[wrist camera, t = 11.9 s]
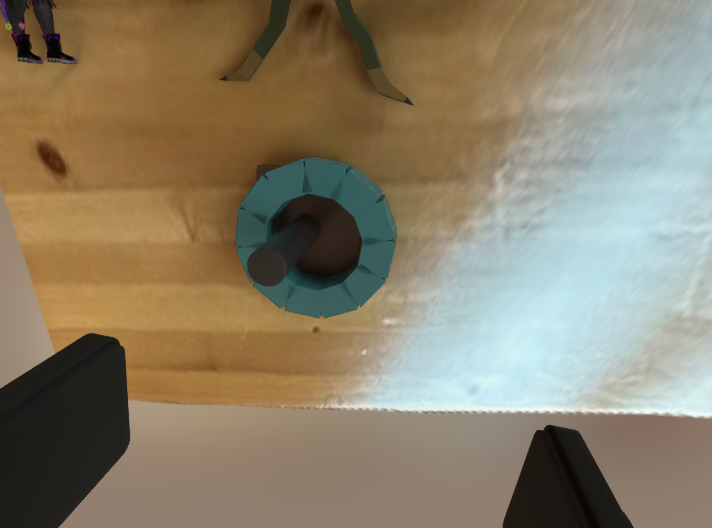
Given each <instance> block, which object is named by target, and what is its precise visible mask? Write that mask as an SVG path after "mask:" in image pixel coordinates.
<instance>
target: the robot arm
mask: <svg viewBox="0 0 712 528" xmlns="http://www.w3.org/2000/svg"><path fill="white" fill-rule="evenodd" d="M129 441H130V427H129V410H128V394H127V377H126V361H125V350H124V348H123V346H121V345H120V343H119V341H118V339H116V338H114V337H109V336H104V335H99V334H94V333H89V334H87V335H84V336H83V337H81V338H80V339H78V340H76V341H75V342H73V343H72V344H70V345H69V346H67V347H65V348H64V349H62V350H61V351H59V352H57V353H56V354H54V355H53V356H51V357H50V358H48V359H46V360H45V361H43V362H42V363H40V364H39V365H37V366H35V367H34V368H32V369H31V370H29V371H28V372H26V373H24V374H23V375H21V376H20V377H18V378H16V379H15V380H13V381H12V382H10V383H8V384H7V385H5V386H4V387H2V388H1V389H0V528H58V527H59V526H60V525H61V524H62V523H63V522H64V521H65V519H66V518H67V517H68V516H69V515H70V514H71V513H72V512H73V511H74V509H75V508H76V507H77V506H78V505H79V504H80V503H81V501H82V500H83V499H84V498H85V497H86V496H87V495H88V494H89V493H90V491H91V490H92V489H93V488H94V487H95V486H96V485H97V483H98V482H99V481H100V480H101V479H102V478H103V477H104V476H105V474H106V473H107V472H108V471H109V470H110V469H111V468H112V466H113V465H114V464H115V463H116V462H117V461H118V460H119V459H120V457H121V456H122V455H123V454H124V453H125V451H126V449H127V447H128V445H129ZM503 528H633V526H632V524H631V522H630V520H629V519H628V518H627V516H626V515H625V513H624V512H623V511H622V510H621V508H620V506H619V504H618V503H617V501H616V499H615V497H614V495H613V493H612V491H611V489H610V488H609V486H608V484H607V482H606V480H605V478H604V477H603V475H602V473H601V471H600V469H599V468H598V466H597V464H596V462H595V460H594V458H593V456H592V455H591V453H590V451H589V449H588V447H587V446H586V443H585V442H584V440H583V438H582V436H581V435H580V433H579V432H578V431H576V430H573V429H567V428H562V427H558V426H553V425H547V426H546V427H545V428H544V430H543V431H542V430H537V431H536V432H535V434H534V437H533V439H532V442H531V445H530V448H529V451H528V453H527V456H526V459H525V462H524V465H523V467H522V470H521V473H520V476H519V479H518V482H517V484H516V487H515V490H514V493H513V496H512V498H511V501H510V504H509V507H508V510H507V512H506V515H505V518H504V522H503Z"/></svg>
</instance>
